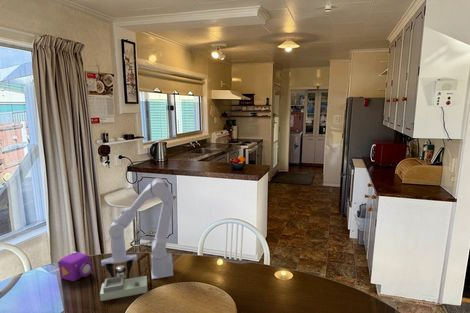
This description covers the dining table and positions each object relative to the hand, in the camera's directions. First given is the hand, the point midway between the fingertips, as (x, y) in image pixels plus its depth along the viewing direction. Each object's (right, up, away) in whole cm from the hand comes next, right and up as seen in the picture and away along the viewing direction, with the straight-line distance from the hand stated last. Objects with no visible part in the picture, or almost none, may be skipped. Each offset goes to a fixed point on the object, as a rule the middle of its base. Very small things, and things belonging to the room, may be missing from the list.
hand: (121, 277), depth 135 cm
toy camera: (-21, -1, +4) cm, 22 cm away
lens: (0, -1, 0) cm, 1 cm away
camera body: (+5, -3, -8) cm, 9 cm away
